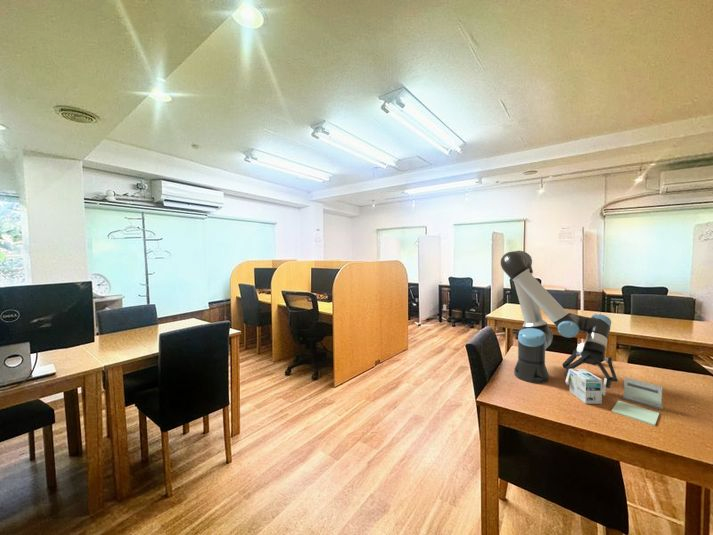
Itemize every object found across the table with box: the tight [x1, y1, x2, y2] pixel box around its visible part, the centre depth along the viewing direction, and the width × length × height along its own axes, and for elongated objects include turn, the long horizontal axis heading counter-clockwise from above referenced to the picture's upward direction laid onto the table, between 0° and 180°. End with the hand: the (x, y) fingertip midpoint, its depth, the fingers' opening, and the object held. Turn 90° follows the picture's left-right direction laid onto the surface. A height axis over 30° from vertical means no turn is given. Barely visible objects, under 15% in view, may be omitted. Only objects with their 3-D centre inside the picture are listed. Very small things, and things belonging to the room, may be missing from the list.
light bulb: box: [576, 342, 587, 364], centre depth 161 cm, size 7×7×11 cm
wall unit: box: [622, 376, 664, 411], centre depth 119 cm, size 12×3×9 cm, turn 38°
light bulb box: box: [568, 368, 603, 405], centre depth 125 cm, size 11×7×11 cm, turn 175°
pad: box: [611, 400, 660, 426], centre depth 113 cm, size 12×11×1 cm
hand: (584, 388), depth 124 cm, fingers closed on light bulb box, 12 cm apart
